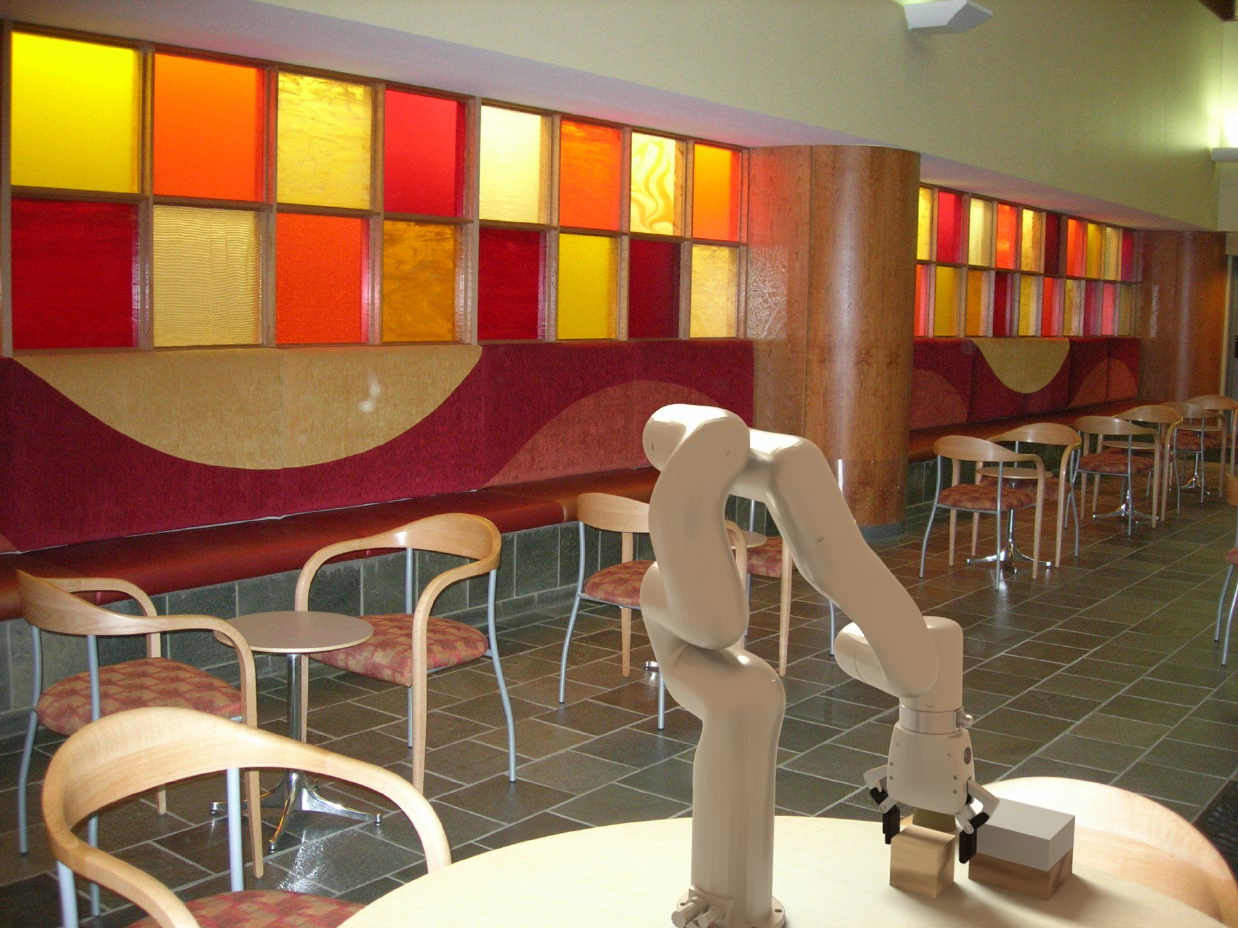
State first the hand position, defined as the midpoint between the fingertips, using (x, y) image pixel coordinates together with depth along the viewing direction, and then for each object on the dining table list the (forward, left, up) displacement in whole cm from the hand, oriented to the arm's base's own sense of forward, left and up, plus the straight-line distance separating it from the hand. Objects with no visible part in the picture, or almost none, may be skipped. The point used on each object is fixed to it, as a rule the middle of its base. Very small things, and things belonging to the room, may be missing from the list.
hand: (928, 849), depth 150 cm
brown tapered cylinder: (+18, +6, -4) cm, 20 cm away
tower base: (+9, -9, -5) cm, 13 cm away
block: (-1, 0, -4) cm, 4 cm away
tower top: (+9, -9, -1) cm, 13 cm away
